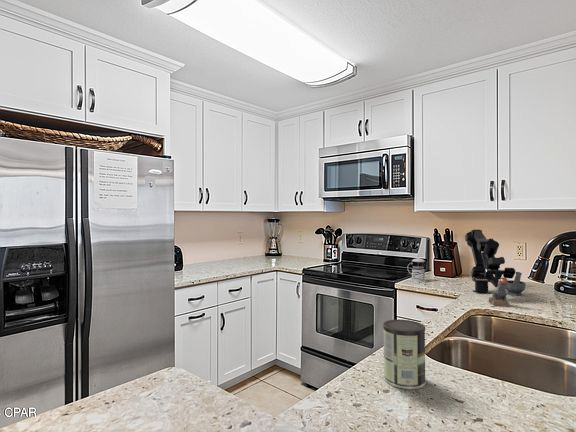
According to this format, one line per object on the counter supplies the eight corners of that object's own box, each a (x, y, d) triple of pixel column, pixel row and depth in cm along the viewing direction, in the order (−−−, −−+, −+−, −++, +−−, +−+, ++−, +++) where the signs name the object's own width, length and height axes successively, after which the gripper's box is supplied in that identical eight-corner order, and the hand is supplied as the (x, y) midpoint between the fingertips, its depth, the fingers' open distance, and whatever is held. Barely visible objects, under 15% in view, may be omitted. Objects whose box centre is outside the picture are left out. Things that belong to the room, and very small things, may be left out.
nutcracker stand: (488, 302, 172) (488, 290, 172) (502, 302, 170) (502, 291, 170) (494, 306, 164) (493, 294, 164) (508, 306, 163) (508, 294, 163)
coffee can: (408, 369, 96) (408, 317, 96) (434, 386, 86) (434, 328, 86) (375, 374, 93) (375, 320, 93) (398, 392, 83) (398, 332, 83)
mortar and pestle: (520, 297, 181) (520, 274, 182) (501, 294, 189) (500, 272, 189) (529, 294, 188) (529, 272, 188) (510, 291, 195) (510, 270, 196)
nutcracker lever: (495, 295, 167) (499, 277, 161) (502, 295, 167) (506, 277, 160) (496, 299, 165) (501, 281, 159) (503, 299, 164) (508, 281, 158)
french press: (425, 283, 221) (425, 244, 221) (406, 282, 226) (406, 243, 226) (427, 281, 230) (426, 243, 230) (408, 279, 235) (408, 242, 235)
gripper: (472, 250, 176) (478, 276, 166) (514, 251, 172) (523, 278, 161) (468, 264, 184) (474, 289, 174) (508, 265, 180) (516, 291, 169)
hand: (496, 286), depth 169 cm, fingers closed
